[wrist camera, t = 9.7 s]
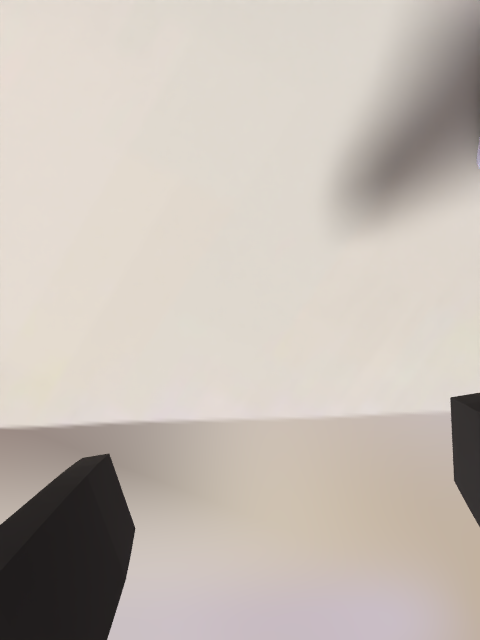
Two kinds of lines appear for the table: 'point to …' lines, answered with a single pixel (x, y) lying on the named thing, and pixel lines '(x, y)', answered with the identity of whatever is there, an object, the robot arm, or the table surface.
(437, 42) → the table surface
